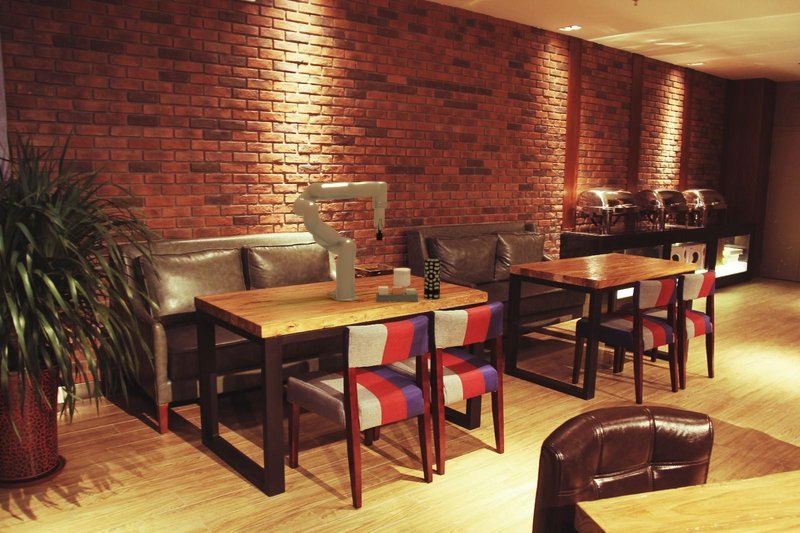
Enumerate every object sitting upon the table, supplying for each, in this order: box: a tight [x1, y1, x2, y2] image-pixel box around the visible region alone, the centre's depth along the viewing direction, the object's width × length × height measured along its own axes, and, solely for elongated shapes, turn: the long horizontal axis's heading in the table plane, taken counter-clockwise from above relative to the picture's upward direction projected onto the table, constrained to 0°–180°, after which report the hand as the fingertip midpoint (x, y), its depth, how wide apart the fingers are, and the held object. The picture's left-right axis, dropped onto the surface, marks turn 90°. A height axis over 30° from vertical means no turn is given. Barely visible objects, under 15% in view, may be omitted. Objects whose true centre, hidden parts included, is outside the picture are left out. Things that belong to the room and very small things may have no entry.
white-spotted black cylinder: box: [423, 258, 442, 300], centre depth 335 cm, size 8×8×20 cm
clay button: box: [391, 285, 403, 295], centre depth 328 cm, size 5×5×5 cm
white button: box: [377, 285, 389, 295], centre depth 327 cm, size 5×5×5 cm
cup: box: [392, 267, 411, 288], centre depth 368 cm, size 10×10×10 cm
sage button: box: [404, 287, 417, 295], centre depth 329 cm, size 5×5×5 cm
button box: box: [375, 291, 419, 303], centre depth 328 cm, size 21×7×4 cm, turn 96°
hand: (379, 240), depth 338 cm, fingers closed
